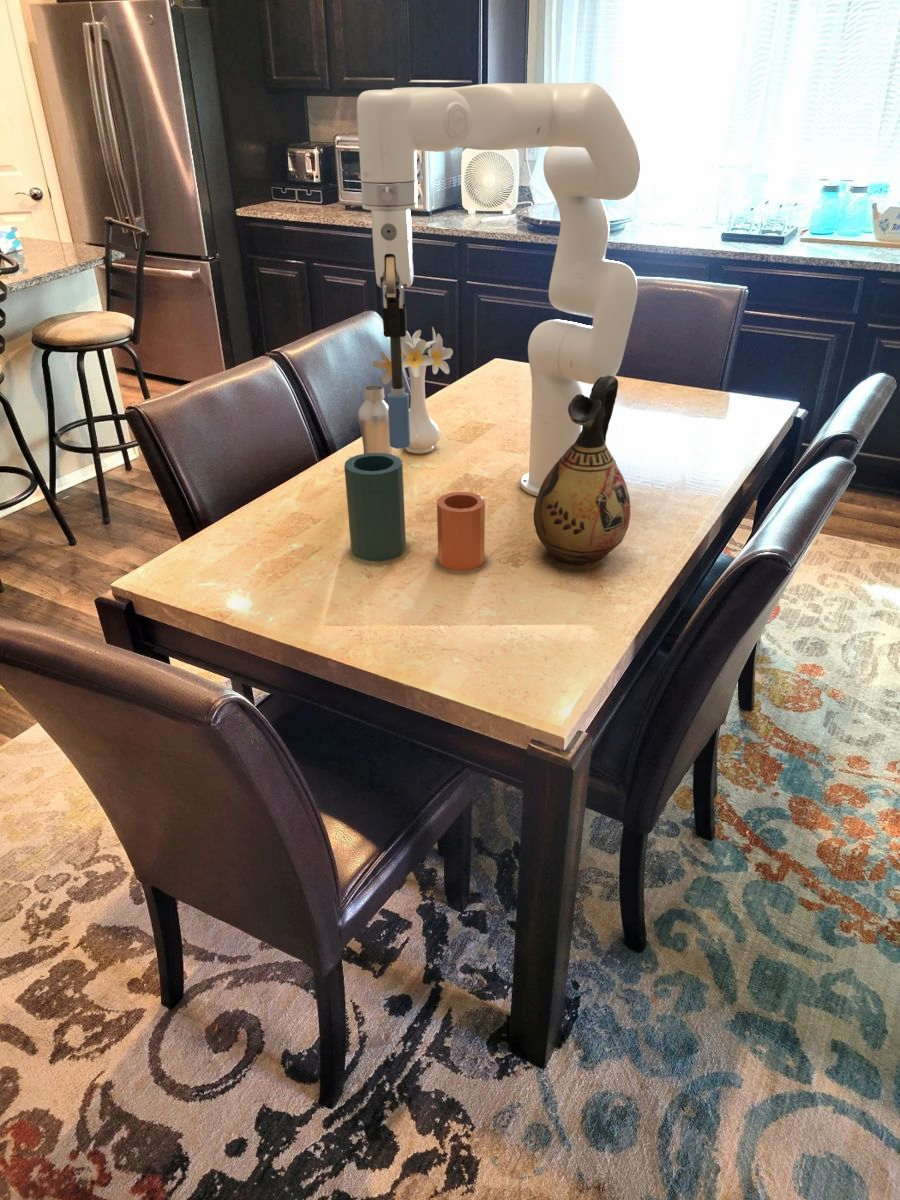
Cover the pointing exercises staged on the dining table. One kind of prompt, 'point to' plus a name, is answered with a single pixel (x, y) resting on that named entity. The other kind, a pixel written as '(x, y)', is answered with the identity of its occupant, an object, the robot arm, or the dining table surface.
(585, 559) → the ceramic jug
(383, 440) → the metal bottle
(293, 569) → the dining table surface
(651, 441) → the dining table surface
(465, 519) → the crock
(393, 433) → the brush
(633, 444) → the dining table surface
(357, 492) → the teal hollow cylinder
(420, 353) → the flower vase
